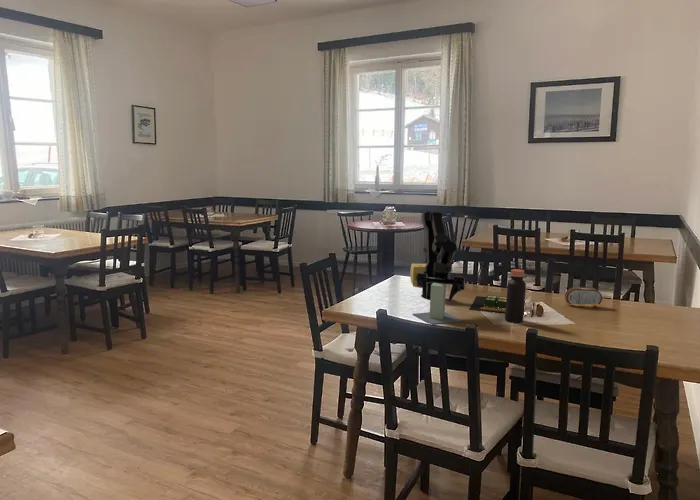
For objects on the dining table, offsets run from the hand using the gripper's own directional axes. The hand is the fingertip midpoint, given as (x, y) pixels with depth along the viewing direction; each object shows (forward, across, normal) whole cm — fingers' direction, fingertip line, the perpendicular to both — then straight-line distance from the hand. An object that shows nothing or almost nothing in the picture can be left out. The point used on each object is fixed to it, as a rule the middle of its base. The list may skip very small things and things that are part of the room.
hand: (437, 299), depth 206 cm
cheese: (-36, -17, +47) cm, 62 cm away
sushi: (-16, +24, +28) cm, 40 cm away
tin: (-26, +57, +37) cm, 72 cm away
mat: (+4, 0, +6) cm, 8 cm away
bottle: (-1, +29, +12) cm, 31 cm away
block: (+4, 0, +6) cm, 7 cm away
